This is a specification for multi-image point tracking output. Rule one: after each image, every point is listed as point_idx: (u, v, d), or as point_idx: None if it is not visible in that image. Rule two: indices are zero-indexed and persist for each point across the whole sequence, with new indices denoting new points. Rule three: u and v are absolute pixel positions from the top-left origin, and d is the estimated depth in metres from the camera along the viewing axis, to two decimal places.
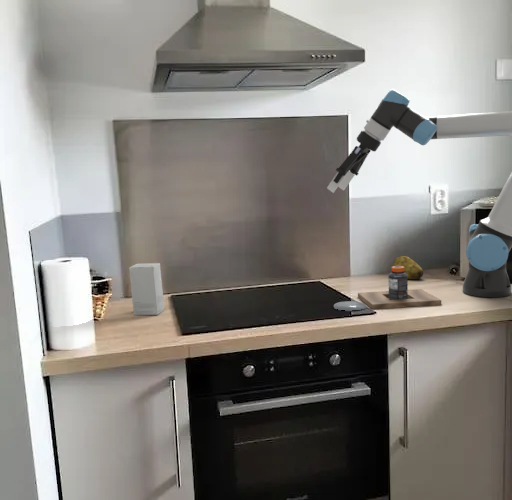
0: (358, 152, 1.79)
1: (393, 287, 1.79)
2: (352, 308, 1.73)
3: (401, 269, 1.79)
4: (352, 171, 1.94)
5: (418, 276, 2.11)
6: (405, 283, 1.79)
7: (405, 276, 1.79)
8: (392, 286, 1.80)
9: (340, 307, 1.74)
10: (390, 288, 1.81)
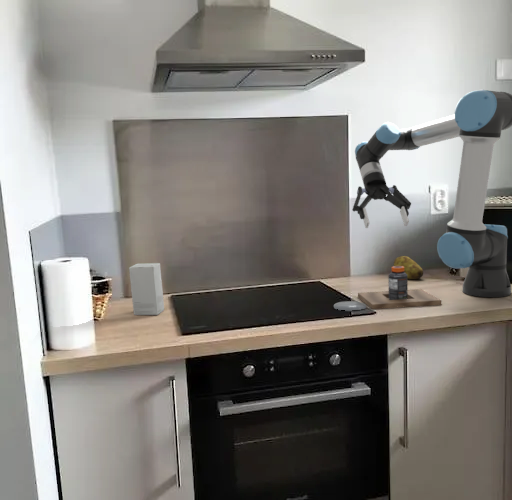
0: (358, 190, 1.96)
1: (393, 287, 1.79)
2: (352, 308, 1.73)
3: (401, 269, 1.79)
4: None
5: (418, 276, 2.11)
6: (405, 283, 1.79)
7: (405, 276, 1.79)
8: (392, 286, 1.80)
9: (340, 307, 1.74)
10: (390, 288, 1.81)
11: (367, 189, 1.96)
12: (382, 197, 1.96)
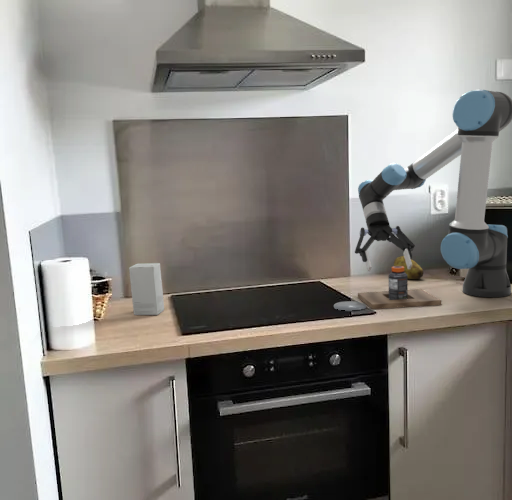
0: (360, 231, 1.94)
1: (393, 287, 1.79)
2: (352, 308, 1.73)
3: (401, 269, 1.79)
4: None
5: (418, 276, 2.11)
6: (405, 283, 1.79)
7: (405, 276, 1.79)
8: (392, 286, 1.80)
9: (340, 307, 1.74)
10: (390, 288, 1.81)
11: (370, 230, 1.94)
12: (385, 238, 1.93)
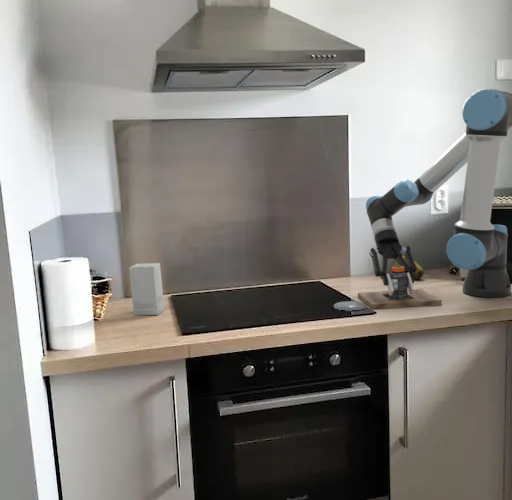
0: (371, 252, 1.86)
1: (393, 287, 1.79)
2: (352, 308, 1.73)
3: (401, 269, 1.79)
4: None
5: (418, 276, 2.11)
6: (405, 283, 1.79)
7: (405, 276, 1.79)
8: None
9: (340, 307, 1.74)
10: None
11: (380, 248, 1.87)
12: (395, 256, 1.87)
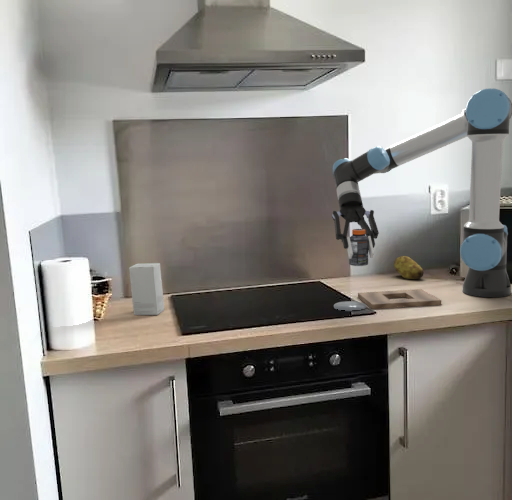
0: (333, 215, 1.82)
1: (353, 250, 1.75)
2: (352, 308, 1.73)
3: (361, 232, 1.75)
4: None
5: (418, 276, 2.11)
6: (365, 246, 1.75)
7: (365, 239, 1.75)
8: (352, 249, 1.76)
9: (340, 307, 1.74)
10: None
11: (342, 211, 1.83)
12: (357, 220, 1.82)
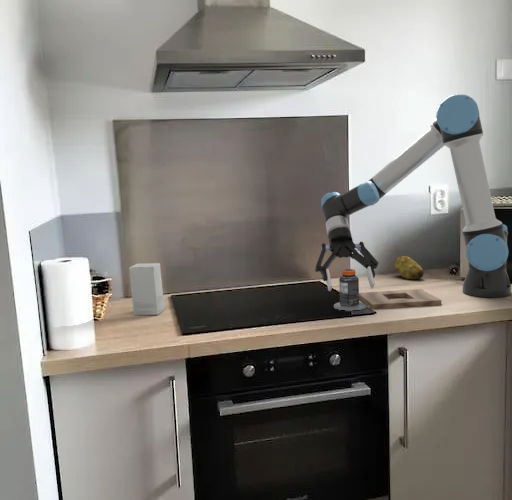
0: (321, 247, 1.81)
1: (343, 291, 1.74)
2: (352, 308, 1.73)
3: (351, 272, 1.73)
4: None
5: (418, 276, 2.11)
6: (356, 287, 1.74)
7: (356, 280, 1.73)
8: (342, 290, 1.74)
9: (340, 307, 1.74)
10: (341, 292, 1.75)
11: (331, 246, 1.81)
12: (347, 255, 1.81)
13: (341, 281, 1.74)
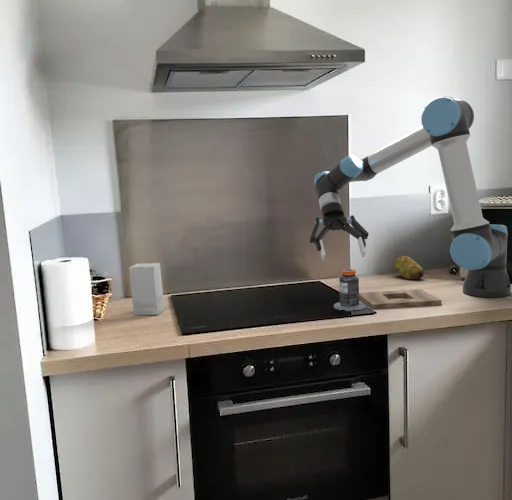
0: (315, 221, 1.95)
1: (343, 291, 1.74)
2: (352, 308, 1.73)
3: (352, 272, 1.73)
4: None
5: (418, 276, 2.11)
6: (356, 287, 1.74)
7: (356, 280, 1.73)
8: (342, 290, 1.74)
9: (340, 307, 1.74)
10: (341, 292, 1.75)
11: (324, 220, 1.96)
12: (340, 228, 1.95)
13: (341, 281, 1.74)
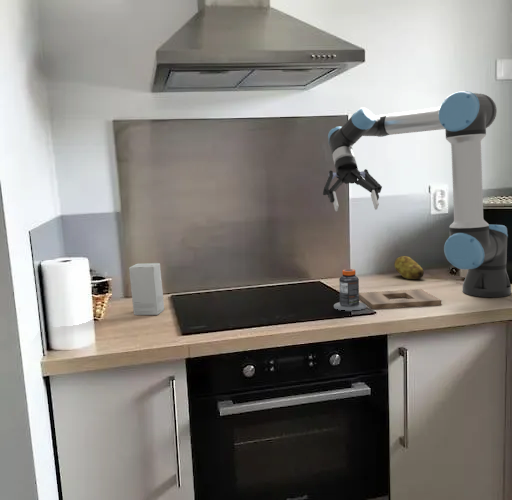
0: (329, 174, 1.96)
1: (343, 291, 1.74)
2: (352, 308, 1.73)
3: (352, 272, 1.73)
4: None
5: (418, 276, 2.11)
6: (356, 287, 1.74)
7: (356, 280, 1.73)
8: (342, 290, 1.74)
9: (340, 307, 1.74)
10: (341, 292, 1.75)
11: (338, 173, 1.96)
12: (353, 181, 1.96)
13: (341, 281, 1.74)
